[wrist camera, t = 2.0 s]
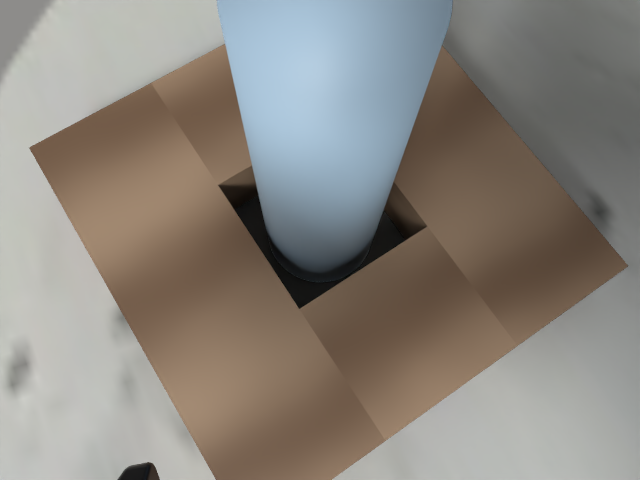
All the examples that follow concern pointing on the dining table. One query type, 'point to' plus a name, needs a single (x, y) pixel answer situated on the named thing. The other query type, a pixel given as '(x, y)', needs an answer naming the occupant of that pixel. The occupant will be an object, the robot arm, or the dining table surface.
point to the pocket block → (340, 301)
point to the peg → (328, 115)
